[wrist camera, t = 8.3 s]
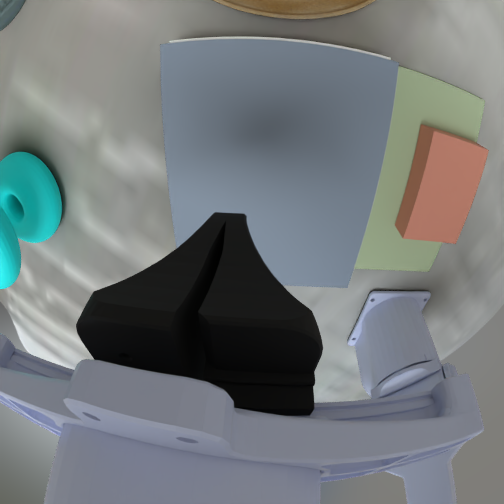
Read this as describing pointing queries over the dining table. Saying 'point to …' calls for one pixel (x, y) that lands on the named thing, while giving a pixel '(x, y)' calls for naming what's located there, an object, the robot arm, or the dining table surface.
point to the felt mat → (400, 162)
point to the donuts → (25, 209)
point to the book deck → (278, 145)
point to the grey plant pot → (9, 11)
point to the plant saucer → (297, 7)
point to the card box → (440, 186)
